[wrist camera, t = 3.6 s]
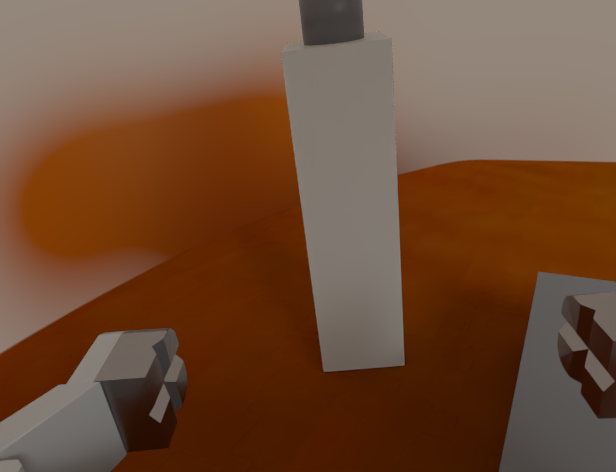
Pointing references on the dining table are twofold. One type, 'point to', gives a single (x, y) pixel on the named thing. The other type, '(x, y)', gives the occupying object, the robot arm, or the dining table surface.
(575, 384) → the block
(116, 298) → the dining table surface
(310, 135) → the white square bottle
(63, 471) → the robot arm
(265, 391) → the dining table surface
